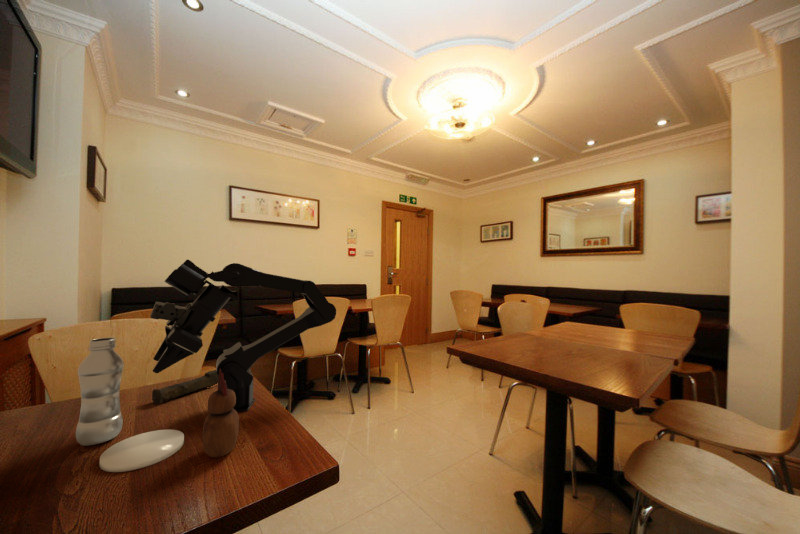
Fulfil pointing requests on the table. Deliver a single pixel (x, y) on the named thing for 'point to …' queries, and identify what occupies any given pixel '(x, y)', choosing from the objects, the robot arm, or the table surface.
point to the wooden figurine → (221, 421)
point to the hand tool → (184, 387)
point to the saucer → (141, 450)
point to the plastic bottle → (100, 393)
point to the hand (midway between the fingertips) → (154, 365)
